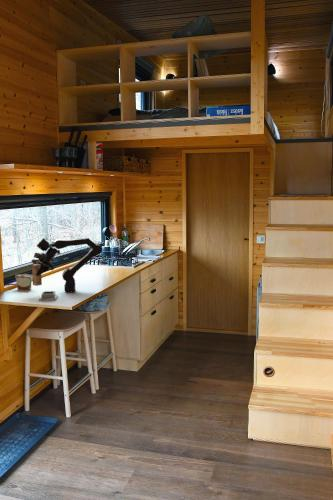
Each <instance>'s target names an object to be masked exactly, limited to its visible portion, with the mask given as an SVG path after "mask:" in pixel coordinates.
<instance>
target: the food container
mask: <svg viewBox="0 0 333 500" xmlns="http://www.w3.org/2000/svg"><path fill="white" fill-rule="evenodd" d="M14 277H15V281H16V286H17V291H25V292H29V291H31V290H32V282H33V278H32V274H30V273H29V274H28V273H21V274H20V273H19V274H15V276H14Z"/></svg>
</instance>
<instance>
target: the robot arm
mask: <svg viewBox="0 0 333 500" xmlns="http://www.w3.org/2000/svg"><path fill="white" fill-rule="evenodd" d="M82 245H87V246H88V247H90V249H89V251H88V253H87V254H86V255H84V256H83V257H82V258H80V260H79V261H77V262H76V263H75V264H73V266H72V267H66V269H65V270H64V269H63V271H62V276H61V277H62V279H63V280H64V281H65V282H64V293H76V292H77V291H76V280H75V277H74V276H75V275H76V273H77V272H78V271H79V270H81V269H82V268H83V267H84V265H85V264H87V263H88V262H90V260H92V258H95V257H97V256H98V255H100V254H101V253H103V248H102V246H101V245H100V244H99V243H98V244H97V243H95V242H93V241H92V240H91V239H90V238H89V237H84V238H76V239H62V238H61V239H60V238H59V239H58V238H57V239H55V240H54V241H51V242H50V241H47V240H46V238H44V237H43V238H42V239H40V241H38V243H37V244H36V248H38V249H40V250H41V251H42V252H35V253H34V255H33V259H31V263H32V265H34V264H40V265H41V268H40V269H39V271H38V272H37V274H36V275H37V276H38V275H40V274H41V275H43V274H44V273H46V272H48V271H49V270H50V271H54V269H55V266H54V264H53V263H52V262H53V261H54V257H55V256H56V255H61V249H64V248H67V247H72V246H73V247H74V246H82Z"/></svg>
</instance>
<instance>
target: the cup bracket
mask: <svg viewBox="0 0 333 500" xmlns="http://www.w3.org/2000/svg"><path fill="white" fill-rule="evenodd" d="M58 297H59V296H58V294H56V291H54V290H49V291H48V290H45V291H42V292H41V295H40V296H39V299H38V300H39V302H40V301H41V302H44V301H57V299H58Z"/></svg>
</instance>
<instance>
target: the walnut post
mask: <svg viewBox="0 0 333 500" xmlns="http://www.w3.org/2000/svg"><path fill="white" fill-rule="evenodd" d="M40 268H41V265H40V264H32V265H31V270H32V272H31V273H32V274H31V275H32V286H36V287H38V286H42V284H43V282H42V279H43V278H42V274H40V275H38V276H37V275H36V274H37V272H38V271H39V269H40Z"/></svg>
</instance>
